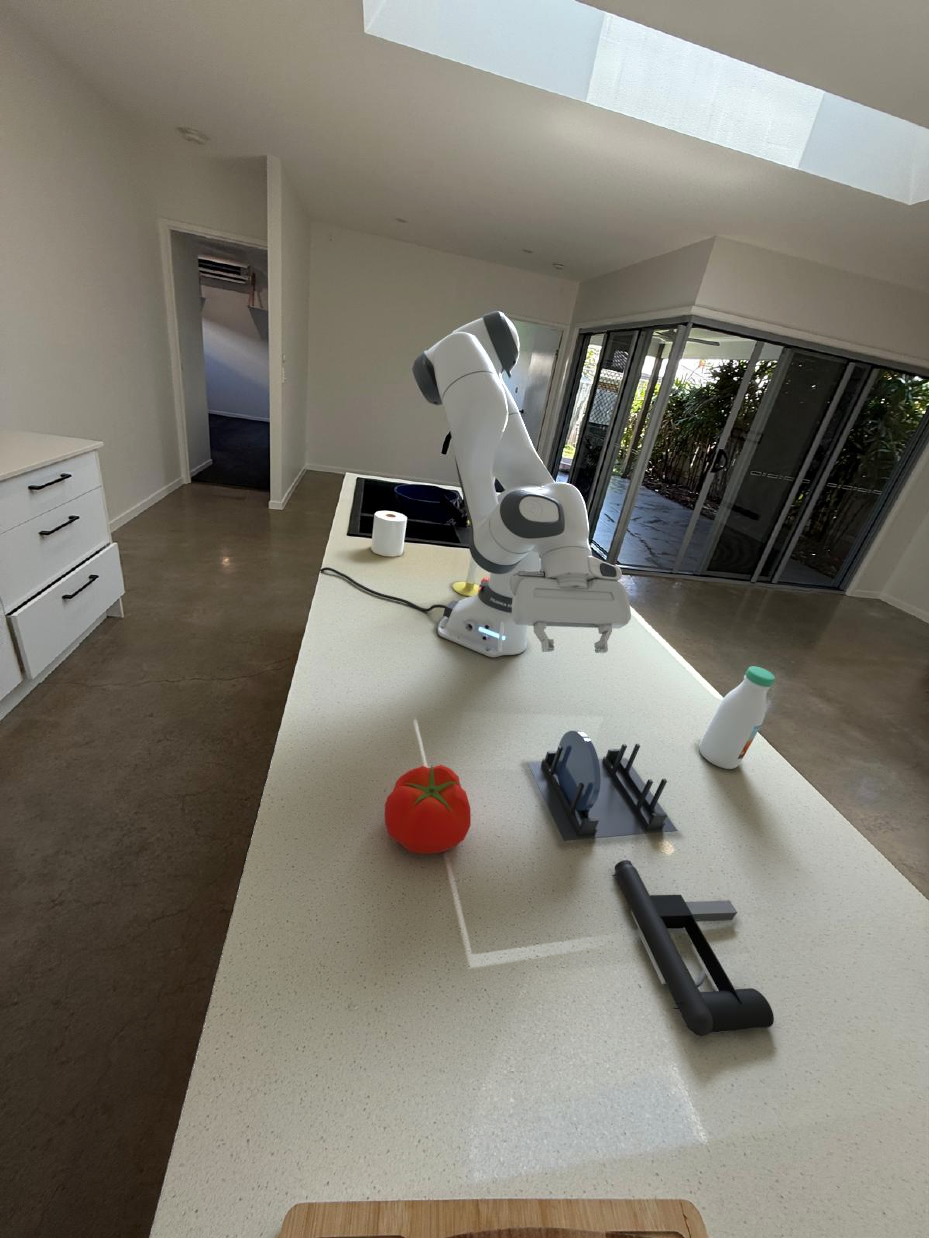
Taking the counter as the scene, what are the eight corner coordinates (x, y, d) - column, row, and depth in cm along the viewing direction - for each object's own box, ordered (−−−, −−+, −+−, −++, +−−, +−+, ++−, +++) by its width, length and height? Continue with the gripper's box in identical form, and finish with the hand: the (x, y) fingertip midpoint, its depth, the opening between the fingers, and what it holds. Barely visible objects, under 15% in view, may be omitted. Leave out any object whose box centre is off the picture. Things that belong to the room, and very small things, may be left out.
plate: (549, 769, 87) (569, 714, 81) (555, 768, 87) (575, 714, 82) (579, 828, 77) (603, 770, 71) (584, 827, 77) (609, 770, 72)
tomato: (435, 887, 65) (446, 842, 61) (362, 833, 70) (368, 789, 66) (484, 825, 75) (496, 783, 71) (417, 782, 80) (425, 741, 76)
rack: (525, 765, 88) (536, 730, 85) (625, 761, 94) (639, 728, 90) (562, 844, 75) (577, 806, 71) (675, 833, 80) (694, 798, 77)
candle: (468, 580, 157) (493, 457, 141) (492, 593, 152) (520, 467, 135) (445, 585, 151) (468, 457, 134) (468, 599, 145) (495, 467, 128)
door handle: (707, 858, 74) (610, 858, 70) (812, 1017, 57) (691, 1029, 52) (697, 873, 75) (601, 874, 71) (796, 1032, 58) (678, 1045, 54)
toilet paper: (366, 552, 163) (370, 516, 157) (377, 543, 172) (380, 508, 167) (397, 559, 162) (401, 523, 157) (405, 549, 171) (410, 515, 166)
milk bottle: (721, 774, 96) (769, 687, 87) (689, 746, 102) (730, 663, 93) (746, 765, 99) (794, 681, 90) (714, 739, 105) (756, 658, 96)
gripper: (515, 562, 82) (521, 645, 78) (630, 569, 86) (641, 648, 82) (504, 577, 88) (508, 655, 84) (611, 583, 92) (621, 657, 88)
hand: (575, 651), depth 83 cm, fingers open, 8 cm apart
